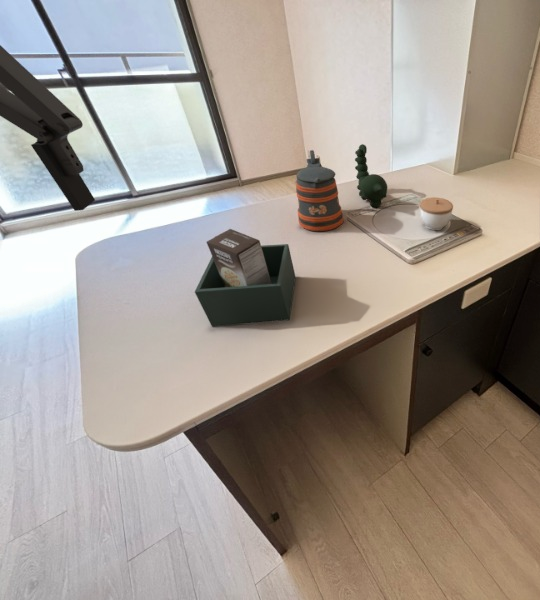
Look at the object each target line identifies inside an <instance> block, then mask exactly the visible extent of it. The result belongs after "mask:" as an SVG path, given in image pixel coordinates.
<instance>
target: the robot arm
mask: <svg viewBox="0 0 540 600" xmlns="http://www.w3.org/2000/svg"><path fill="white" fill-rule="evenodd" d="M0 84H1V85H0V117H1V118H3V119H5V120H6V121H8V122H9V123H10V124H13V125H14V126H16V127H17V128H19V129H21V130H22V131H24V132H25V133H27V134H29V135H30V136H32V137H33V138H35V139H36V141H35V142H34V143H32V144H30V145H31V148H32V149H33V151H34V152H35V153H36V155H37V157H38V158H39V160H40V161H41V162H42V164H43V166H44V167H45V168H46V170H47V172H48V173H49V174H50V176H51V178H52V179H53V181H54V183H56V185H57V186H58V188H59V190H60V191H61V192H62V194H63V195H64V197H65V198H66V200H67V201H68V204H69V205H70V207H71V208H72V209H73V210H74V211H75V212H77V211H84V210H85V209H87V208H88V207H89V206H90V205H91V204H93V203H94V202H95V201H96V199H95V197H94V196H93V194H92V192H91V190H90V189H89V188H88V186H87V184H86V183H85V180H84V179H83V178H82V176H81V173H83V172H84V171H85V169H84V165H83V163H82V162H81V160H80V158H79V156H78V154H77V153H76V151H75V150H74V148H73V146H72V144H71V143H70V141H69V139H68V137H69V135H70V134H72V133H73V132H75V131H78V130H80V129H82V128H83V124H84V123H83V121H82V120H81V118H80V117H78V116H77V115H76V114H75V113H74V112H73V111H72V110H71V109H70V108H69V107H68V106H67V105H65V104H64V102H63V101H62V100H60V99H59V98H58V97H57V96H56V95H55V94H54V93H52V91H51V90H49V88H47V86H45V85H44V84H43V83H42V82H41V81H40V80H38V78H36V77H35V76H34V75H33V73H31V72H30V71H29V70H28V69H27V68H26V67H25V66H24V65H22V64H21V63H20V62H19V61H18V60H17V59H16V58H15V57H14V56H13V55H12V54H11V53H9V51H7V50H6V49H5V48H4V47H3V46H2V45H1V44H0ZM2 85H3V86H4V87H3V86H2Z"/></svg>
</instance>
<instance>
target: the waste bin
mask: <svg viewBox="0 0 540 600" xmlns="http://www.w3.org/2000/svg"><path fill="white" fill-rule="evenodd" d="M261 248H262V251H263V255H264V258H265V262H266V266H267V269H268V273H269V276H270V280H271V283H272V284H266V285H252V286H238V287H225V286H224V284H223V281H222V279H221V277H220V274H219V272H218V269H217V267H216V264H215V262H214V259H213V257H212V256H211V258H210V260H209V261H208V264H207V266H206V268H205V270H204V272H203V274H202V276H201V278H200V280H199V282H198V283H197V286H196V287H195V290H194V294H195V296H196V298H197V300H198V302H199V304H200V305H201V308H202V310H203V312H204V314H205V316H206V318H207V320H208V321H209V324H210V326H211V328H212V327H224V326H225V327H226V326H234V325H235V326H236V325H247V324H258V323H259V324H260V323H269V322H270V323H271V322H281V321H290V319H291V313H292V305H293V298H294V290H295V283H296V273H295V268H294V264H293V259H292V255H291V254H292V253H291V250H290V245H289V243H284V244H267V245H266V244H265V245H263V244H262V245H261Z"/></svg>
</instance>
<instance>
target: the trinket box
mask: <svg viewBox="0 0 540 600" xmlns="http://www.w3.org/2000/svg"><path fill="white" fill-rule="evenodd" d="M453 210H454V204H453V202H451V201H450V200H449V199H447V198H443V197H435V196H433V197H426V198H423V199H422V200H421V201H420V202H419V216H420V220H421V222H422V224H423V225H424V227H426V229H428V230H432V231H441V230H442V229H443V228H444V227H446V226H447V225H448V224H449V222H450V220H451V217H452V214H453Z"/></svg>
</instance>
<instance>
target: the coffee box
mask: <svg viewBox="0 0 540 600" xmlns="http://www.w3.org/2000/svg"><path fill="white" fill-rule="evenodd" d="M206 245H207V248H208V249H209V252H210V255H211V258H212V257H213V259H214V262H215V264H216V267H217V269H218V272H219V274H220V277H221V279H222V281H223V284H224V286H225V287H238V286H252V285H266V284H272V283H271V280H270V276H269V273H268V269H267V266H266V262H265V258H264V255H263V251H262V248H261V246H262V245H261V241H260V239H257V238H255V237H252V236H249V235H247V234H245V233H243V232H240V231H237V230H235V229H232V228H229V229H227V230H226V231H223V232H222V233H220V234H218V235H216V236H214V237H213V238H211V239H209V240H207V241H206Z"/></svg>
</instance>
